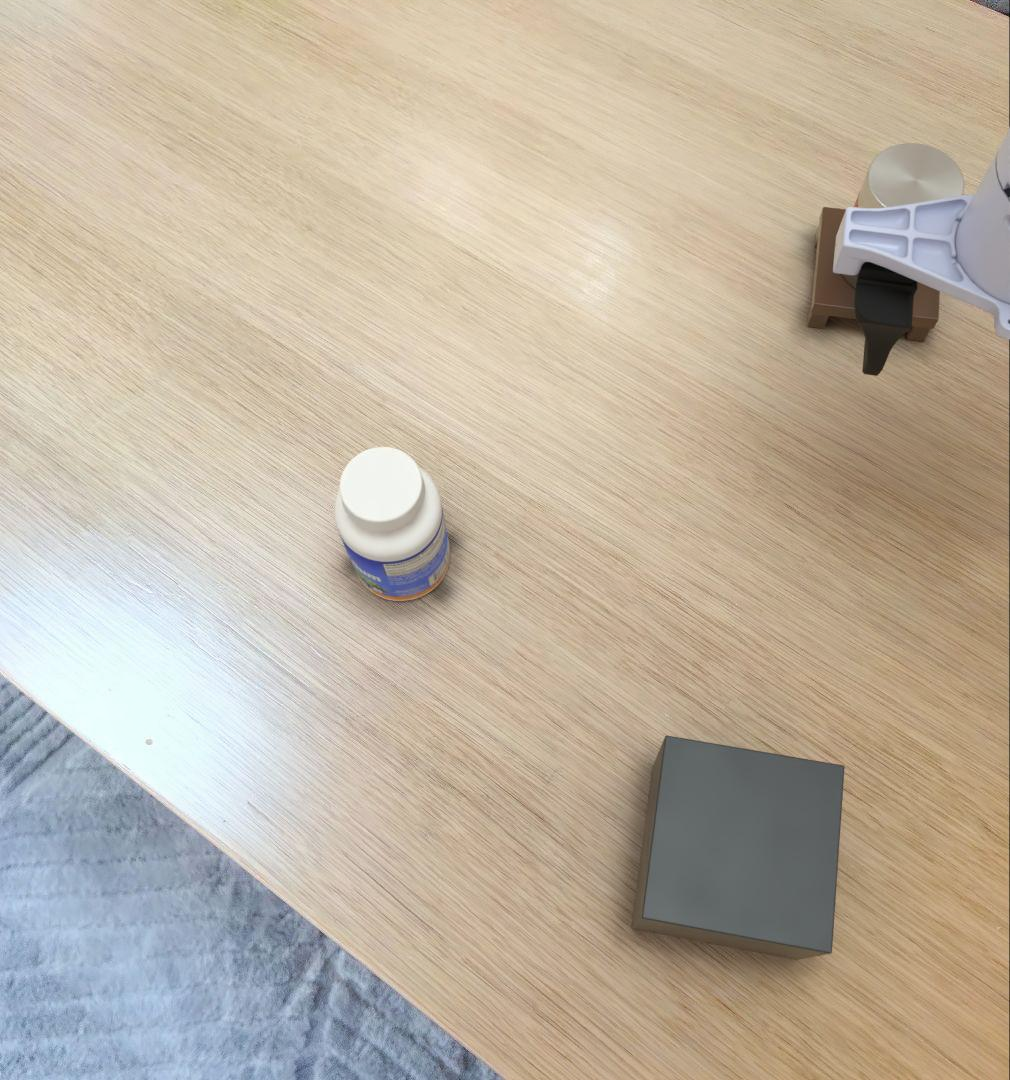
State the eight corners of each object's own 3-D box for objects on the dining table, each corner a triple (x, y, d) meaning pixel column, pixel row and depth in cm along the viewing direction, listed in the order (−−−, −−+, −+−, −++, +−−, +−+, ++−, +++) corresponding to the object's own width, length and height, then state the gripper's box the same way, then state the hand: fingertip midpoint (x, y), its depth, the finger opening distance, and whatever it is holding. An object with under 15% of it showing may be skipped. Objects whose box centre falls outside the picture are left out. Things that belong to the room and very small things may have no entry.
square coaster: (811, 792, 56) (845, 765, 50) (798, 960, 53) (832, 954, 47) (652, 765, 57) (665, 734, 51) (631, 928, 54) (641, 918, 48)
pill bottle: (339, 539, 63) (303, 461, 54) (426, 497, 63) (405, 414, 54) (380, 621, 61) (350, 554, 52) (469, 577, 61) (454, 504, 52)
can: (937, 246, 65) (979, 163, 59) (905, 311, 64) (944, 233, 57) (856, 214, 67) (888, 129, 60) (822, 277, 65) (852, 196, 59)
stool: (930, 246, 68) (943, 220, 66) (925, 343, 66) (938, 319, 64) (814, 232, 69) (823, 206, 67) (805, 328, 67) (814, 303, 64)
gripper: (866, 236, 40) (791, 419, 53) (1294, 291, 39) (1112, 466, 51) (878, 86, 43) (805, 294, 55) (1280, 131, 41) (1110, 335, 54)
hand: (953, 368), depth 53 cm, fingers open, 7 cm apart
